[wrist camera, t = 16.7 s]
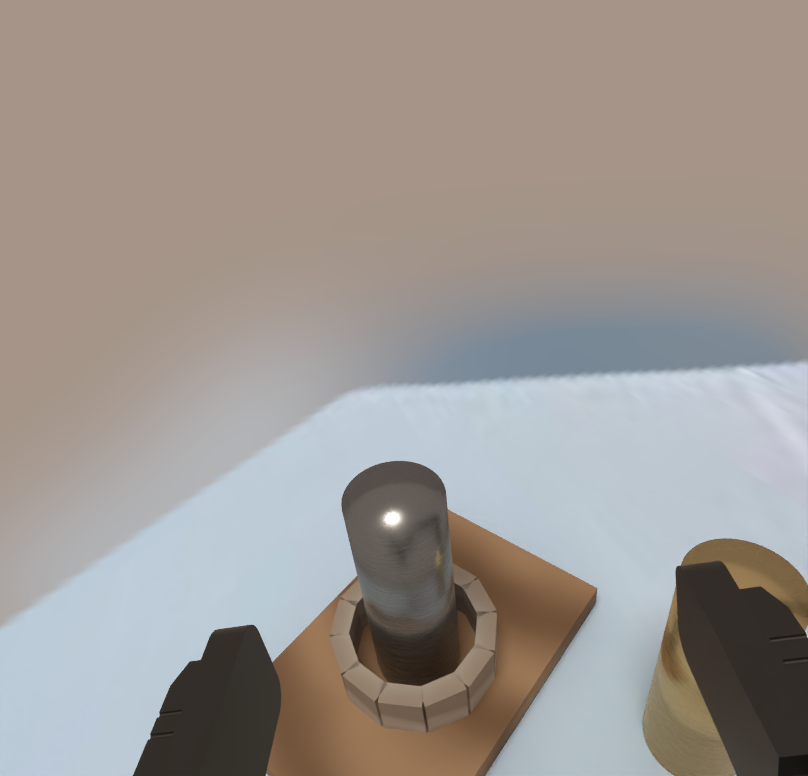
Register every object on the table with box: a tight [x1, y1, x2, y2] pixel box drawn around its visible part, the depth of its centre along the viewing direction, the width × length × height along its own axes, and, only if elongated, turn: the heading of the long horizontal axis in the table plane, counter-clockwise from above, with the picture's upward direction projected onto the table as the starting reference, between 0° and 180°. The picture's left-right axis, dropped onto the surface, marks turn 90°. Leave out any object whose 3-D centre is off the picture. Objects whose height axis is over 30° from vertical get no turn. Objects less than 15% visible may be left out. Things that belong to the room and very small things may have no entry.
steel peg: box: [342, 461, 460, 686], centre depth 31 cm, size 4×4×12 cm
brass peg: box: [643, 539, 808, 776], centre depth 28 cm, size 4×4×12 cm
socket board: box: [266, 509, 597, 776], centre depth 34 cm, size 18×12×4 cm, turn 141°
